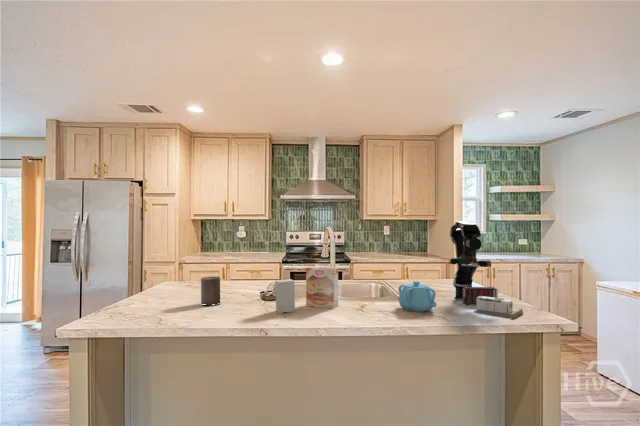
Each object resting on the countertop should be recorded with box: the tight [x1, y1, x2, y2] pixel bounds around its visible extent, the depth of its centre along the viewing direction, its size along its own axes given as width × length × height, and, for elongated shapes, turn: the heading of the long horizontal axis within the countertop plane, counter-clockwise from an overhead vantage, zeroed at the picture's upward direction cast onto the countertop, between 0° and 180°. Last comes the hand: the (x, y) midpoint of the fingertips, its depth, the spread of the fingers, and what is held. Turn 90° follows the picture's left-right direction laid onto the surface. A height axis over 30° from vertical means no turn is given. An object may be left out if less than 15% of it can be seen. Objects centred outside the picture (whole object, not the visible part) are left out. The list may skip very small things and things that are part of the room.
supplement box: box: [462, 286, 499, 306], centre depth 187 cm, size 9×5×16 cm
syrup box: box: [476, 296, 514, 314], centre depth 173 cm, size 6×6×14 cm
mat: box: [473, 308, 524, 320], centre depth 170 cm, size 17×13×2 cm
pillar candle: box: [200, 276, 221, 305], centre depth 192 cm, size 10×10×15 cm
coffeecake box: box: [305, 265, 339, 309], centre depth 186 cm, size 15×7×20 cm, turn 68°
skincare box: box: [274, 278, 296, 314], centre depth 175 cm, size 8×6×15 cm
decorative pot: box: [397, 280, 437, 314], centre depth 177 cm, size 16×16×14 cm
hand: (470, 279), depth 185 cm, fingers closed
